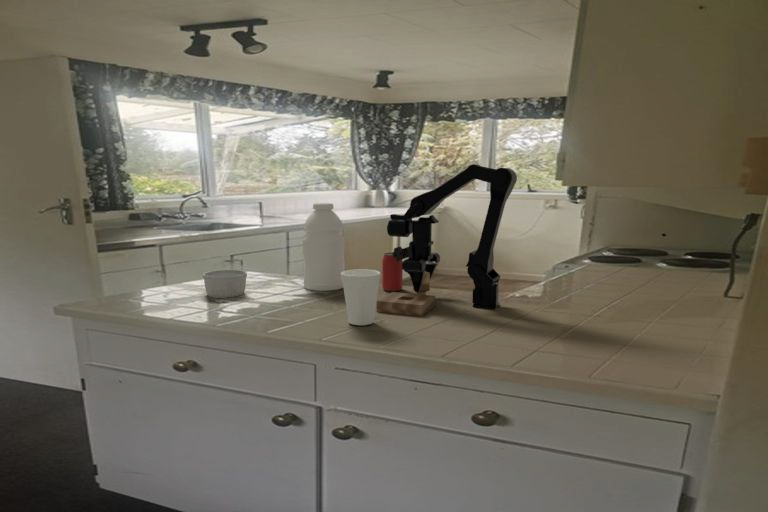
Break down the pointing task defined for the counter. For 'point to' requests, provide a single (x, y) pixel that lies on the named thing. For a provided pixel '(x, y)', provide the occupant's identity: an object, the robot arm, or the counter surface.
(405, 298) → the board
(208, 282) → the ramekin
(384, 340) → the counter surface
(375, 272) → the cup
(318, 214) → the bottle
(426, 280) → the peg
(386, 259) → the beer can
